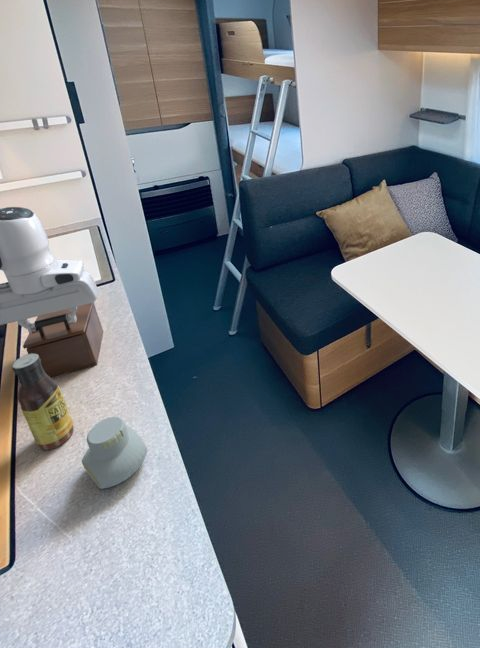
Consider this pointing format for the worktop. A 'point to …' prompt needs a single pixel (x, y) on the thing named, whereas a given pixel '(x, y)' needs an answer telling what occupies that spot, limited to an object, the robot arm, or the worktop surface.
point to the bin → (71, 349)
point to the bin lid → (58, 326)
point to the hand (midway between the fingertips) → (54, 326)
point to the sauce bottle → (42, 403)
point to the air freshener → (113, 452)
